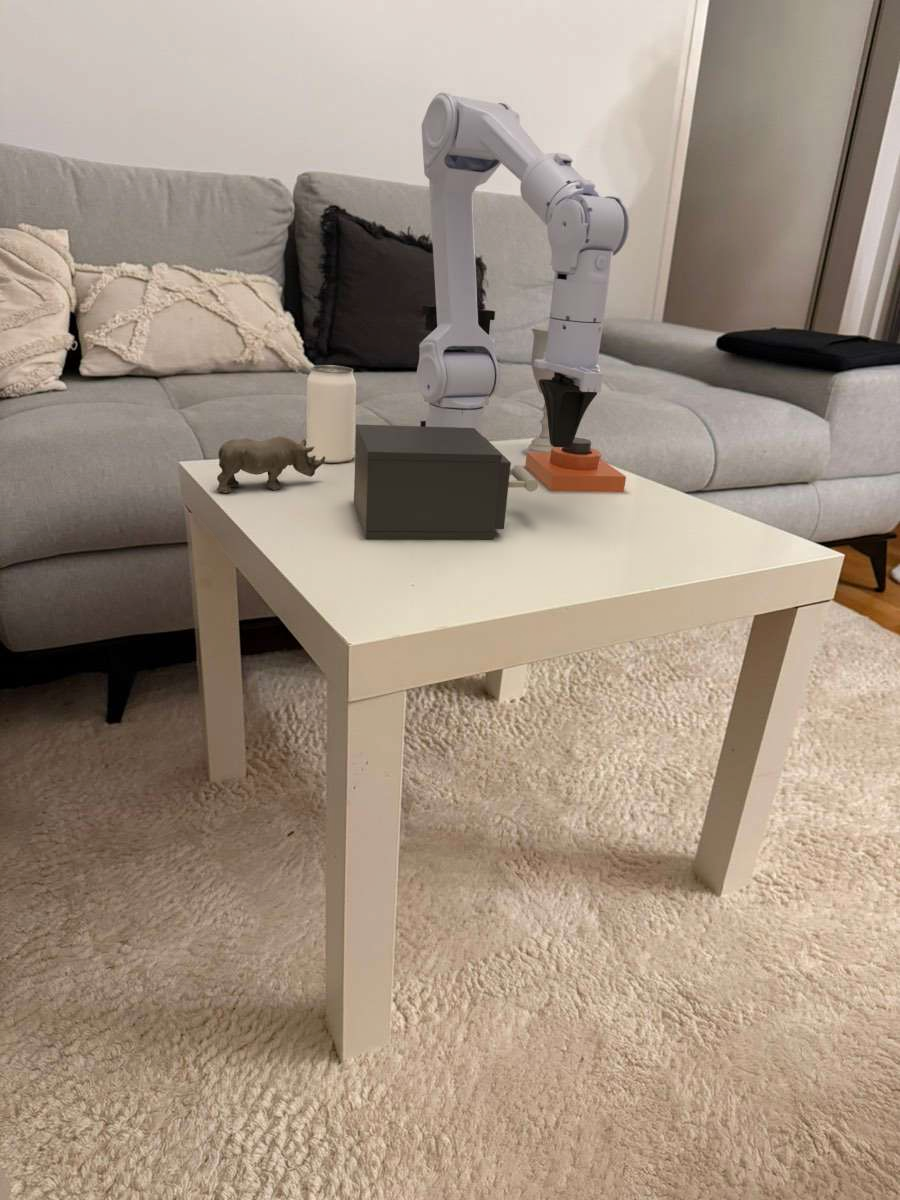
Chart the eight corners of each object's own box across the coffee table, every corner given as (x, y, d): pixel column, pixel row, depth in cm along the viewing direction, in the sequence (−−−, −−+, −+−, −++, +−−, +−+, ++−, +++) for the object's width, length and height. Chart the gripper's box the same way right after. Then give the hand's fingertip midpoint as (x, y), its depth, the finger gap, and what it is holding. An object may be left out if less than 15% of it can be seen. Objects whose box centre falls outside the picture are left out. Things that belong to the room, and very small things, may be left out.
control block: (525, 467, 120) (528, 439, 118) (591, 468, 122) (595, 441, 120) (550, 491, 109) (554, 461, 107) (623, 492, 111) (628, 462, 109)
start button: (559, 449, 115) (560, 436, 114) (584, 450, 116) (585, 437, 115) (567, 456, 112) (569, 443, 111) (593, 456, 113) (595, 443, 112)
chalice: (512, 455, 126) (525, 328, 119) (524, 446, 132) (537, 325, 125) (560, 462, 124) (576, 334, 117) (570, 453, 130) (586, 330, 123)
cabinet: (468, 504, 101) (474, 427, 98) (493, 539, 90) (502, 454, 86) (353, 502, 98) (356, 424, 95) (365, 539, 87) (368, 451, 84)
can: (345, 466, 113) (348, 374, 108) (299, 460, 114) (299, 369, 110) (360, 455, 119) (362, 367, 114) (316, 450, 120) (316, 363, 115)
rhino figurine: (332, 486, 104) (333, 437, 101) (220, 495, 97) (219, 443, 95) (319, 477, 107) (319, 430, 105) (210, 486, 100) (208, 435, 98)
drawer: (512, 498, 101) (519, 438, 99) (540, 529, 91) (549, 463, 88) (374, 496, 98) (376, 434, 95) (387, 529, 88) (390, 459, 85)
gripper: (522, 310, 96) (509, 430, 102) (561, 325, 83) (545, 461, 89) (581, 314, 98) (565, 432, 103) (629, 329, 85) (608, 462, 90)
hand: (560, 445), depth 96 cm, fingers closed
